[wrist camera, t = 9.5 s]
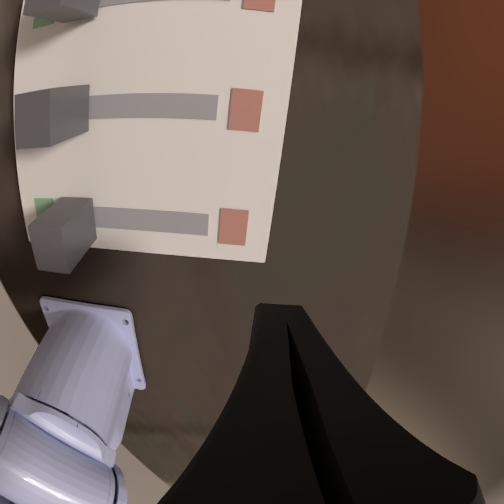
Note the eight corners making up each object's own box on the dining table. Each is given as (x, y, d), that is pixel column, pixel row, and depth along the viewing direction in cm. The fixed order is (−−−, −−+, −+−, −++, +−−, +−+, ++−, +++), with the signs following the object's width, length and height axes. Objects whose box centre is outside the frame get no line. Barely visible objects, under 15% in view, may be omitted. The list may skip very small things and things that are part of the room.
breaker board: (263, 249, 19) (270, 308, 14) (40, 230, 18) (-4, 275, 13) (300, -25, 11) (325, -67, 6) (39, -8, 10) (-17, -22, 5)
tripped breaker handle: (88, 131, 13) (50, 146, 10) (56, 132, 13) (16, 149, 10) (89, 84, 12) (50, 88, 9) (57, 88, 12) (14, 95, 9)
